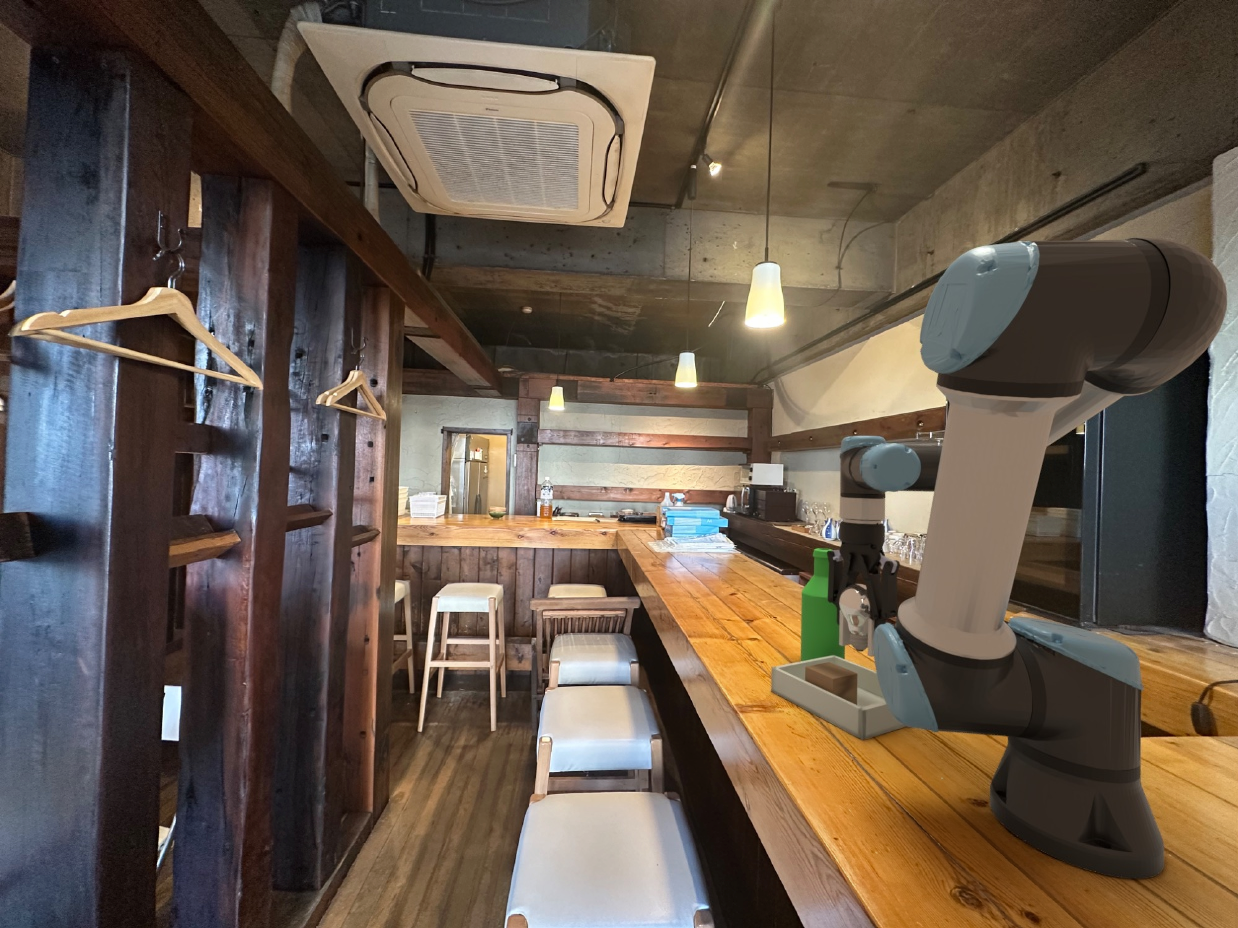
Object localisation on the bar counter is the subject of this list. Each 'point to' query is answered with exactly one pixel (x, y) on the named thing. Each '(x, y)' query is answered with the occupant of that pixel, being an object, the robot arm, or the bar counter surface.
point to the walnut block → (833, 680)
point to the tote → (837, 698)
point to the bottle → (819, 614)
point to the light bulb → (856, 614)
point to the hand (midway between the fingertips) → (859, 649)
